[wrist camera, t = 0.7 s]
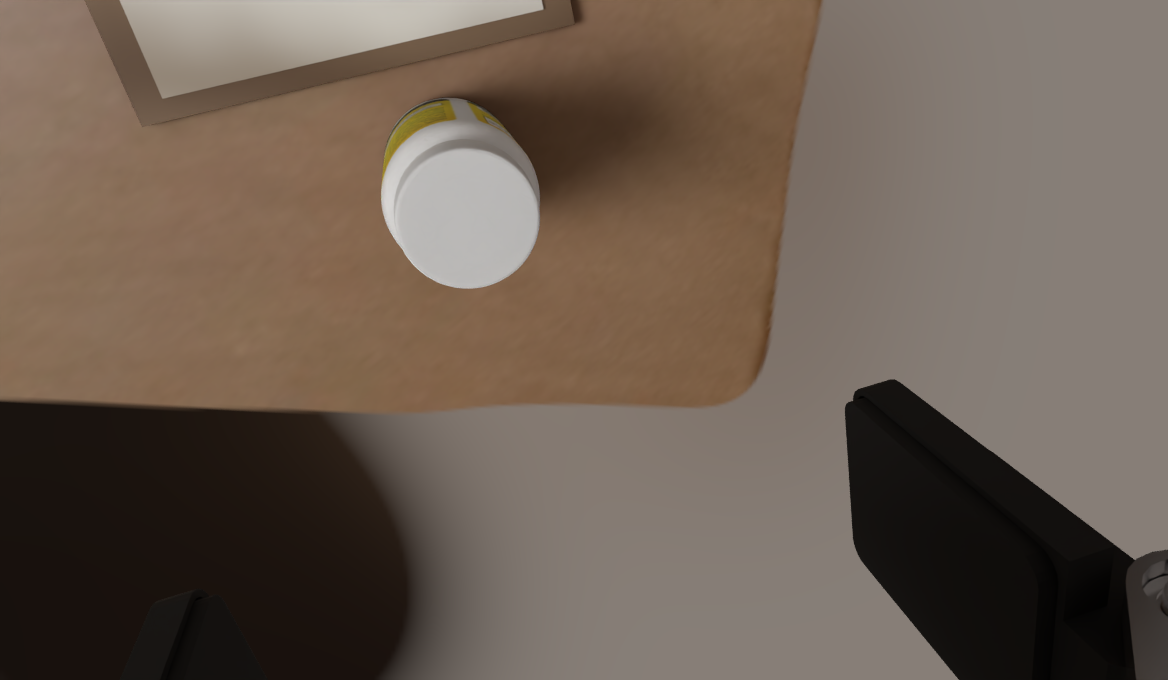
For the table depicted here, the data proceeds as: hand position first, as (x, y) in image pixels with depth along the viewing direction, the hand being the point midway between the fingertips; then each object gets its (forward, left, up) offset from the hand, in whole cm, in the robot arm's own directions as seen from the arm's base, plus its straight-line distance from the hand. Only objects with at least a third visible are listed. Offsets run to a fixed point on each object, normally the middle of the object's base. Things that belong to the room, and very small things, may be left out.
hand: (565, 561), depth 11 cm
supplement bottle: (-2, 0, -20) cm, 21 cm away
